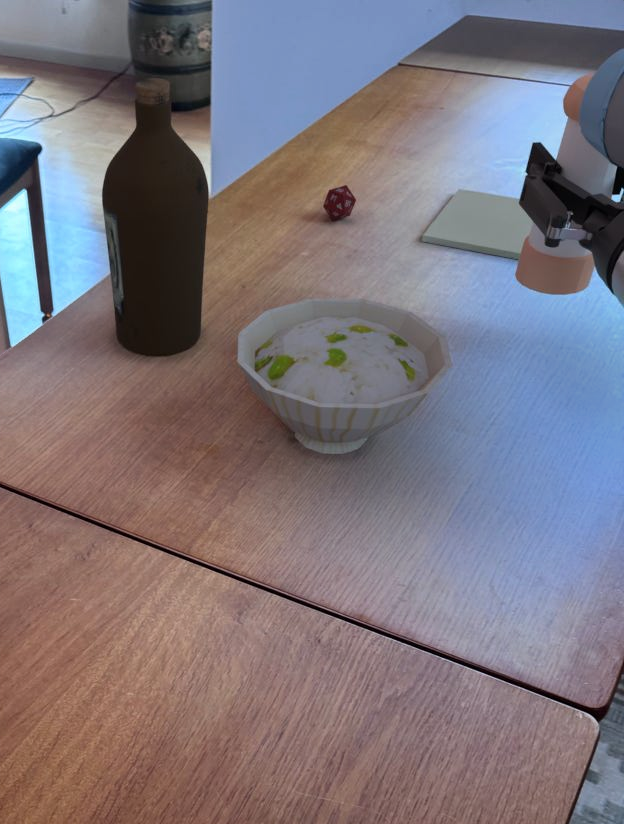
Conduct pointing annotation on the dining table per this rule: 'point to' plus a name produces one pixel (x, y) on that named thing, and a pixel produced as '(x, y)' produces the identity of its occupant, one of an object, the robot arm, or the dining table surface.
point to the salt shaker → (593, 173)
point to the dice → (339, 202)
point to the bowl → (341, 368)
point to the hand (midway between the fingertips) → (564, 155)
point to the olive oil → (156, 230)
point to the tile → (481, 224)
